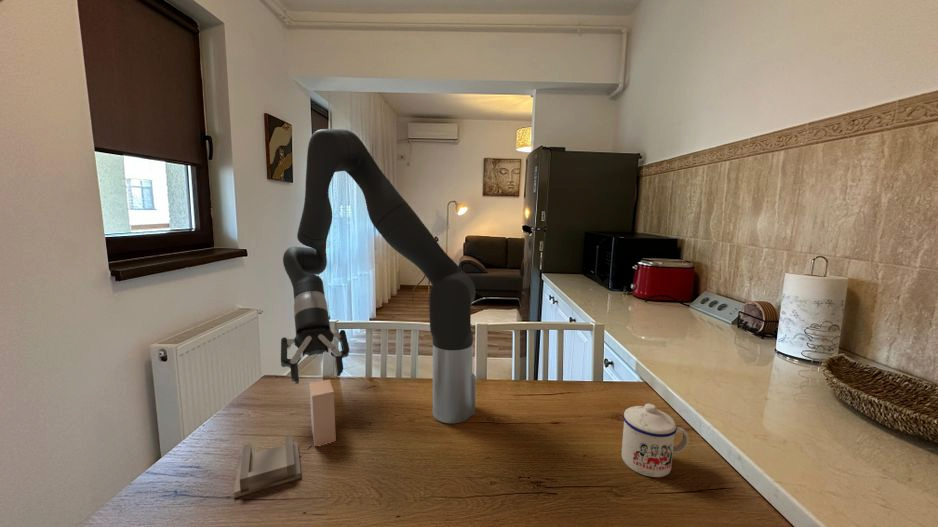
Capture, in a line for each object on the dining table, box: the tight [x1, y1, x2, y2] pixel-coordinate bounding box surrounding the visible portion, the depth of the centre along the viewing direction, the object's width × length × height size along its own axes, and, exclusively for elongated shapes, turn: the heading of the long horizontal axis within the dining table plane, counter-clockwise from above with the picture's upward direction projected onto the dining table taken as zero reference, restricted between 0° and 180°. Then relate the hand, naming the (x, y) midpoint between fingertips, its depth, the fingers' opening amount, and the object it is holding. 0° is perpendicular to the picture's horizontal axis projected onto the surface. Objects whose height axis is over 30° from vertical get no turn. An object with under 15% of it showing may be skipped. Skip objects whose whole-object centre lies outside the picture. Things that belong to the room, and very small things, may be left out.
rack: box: [233, 433, 302, 498], centre depth 67 cm, size 10×10×3 cm
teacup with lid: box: [621, 403, 690, 478], centre depth 69 cm, size 12×9×12 cm
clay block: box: [309, 379, 337, 447], centre depth 76 cm, size 4×6×11 cm, turn 28°
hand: (318, 378), depth 80 cm, fingers open, 8 cm apart
